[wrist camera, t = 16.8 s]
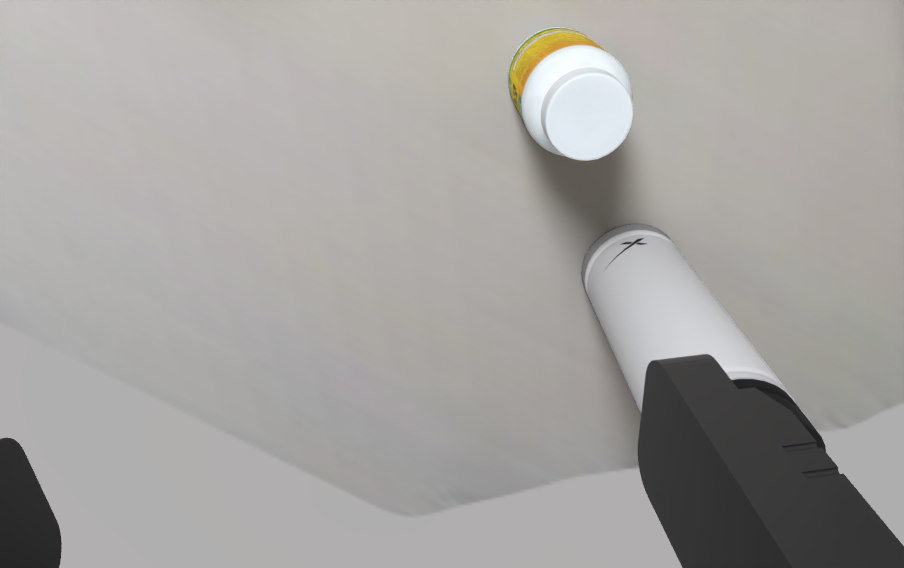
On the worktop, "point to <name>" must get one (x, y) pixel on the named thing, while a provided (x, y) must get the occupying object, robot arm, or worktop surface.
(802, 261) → the worktop surface
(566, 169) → the worktop surface
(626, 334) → the travel mug
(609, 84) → the supplement bottle
